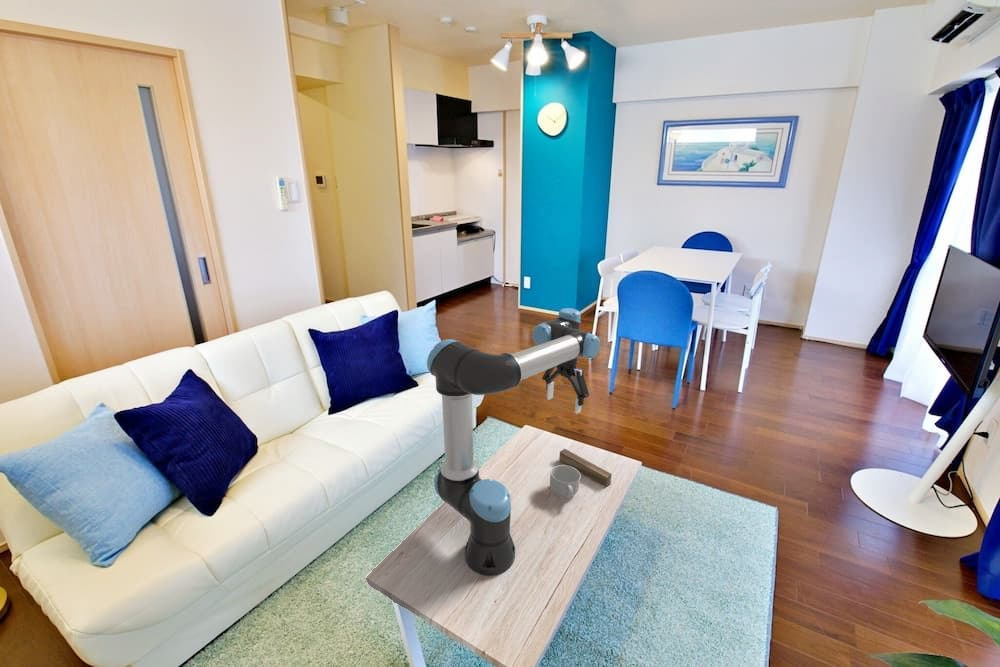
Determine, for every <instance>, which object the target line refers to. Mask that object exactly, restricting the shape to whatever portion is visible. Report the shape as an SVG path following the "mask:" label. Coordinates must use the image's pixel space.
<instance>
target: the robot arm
mask: <svg viewBox="0 0 1000 667" xmlns="http://www.w3.org/2000/svg"><path fill="white" fill-rule="evenodd" d="M580 329H581V312H580V311H579V310H578V309H577V308H576V309H575V308H570V307H569V308H568V307H567V308H562V309H560V310H559V311H558V315H557V318H555V319H552V320H548V321H545V322H542V323H539V324H538V325H535V326H534V327H533V329H532V339H533V342H534V343H535V345H534V346H531V347H529V348H528V347H527V348H526V349H523V350H520V351H518V352H514V353H511V352H503V353H500V354H492V353H488V352H485V351H482V350H479V349H477V348H475V347H472V346H470V345H467V344H465V343H463V342H462V341H459V340H456V339H451V338H450V339H448V338H446V339H444V340H441V341H439V342H438V343H436V344H435V345H434V346H433V349H431V350H430V352H429V354H428V357H427V360H426V366H427V370H428V372H429V373H430V375H432V376H433V377H435V389H436V392H437V393H438V394H439V395H441V404H442V422H443V426H442V427H443V442H444V443H443V444H444V461H443V463H442V464H441V466H440V467H439V468H438V470H437V474H435V476H434V483H433V485H434V490H435V492H436V494H437V495H438V496H439V497H440V499H441V500H443V501H444V502H445V503H446V504H448V505H449V506H451V508H452V509H454V510H455V511H456V512H458V513H459V514H460V515H462V516H463V517H464V518H465V519H466V520H467V521H468V522H469V524H470V534H469V536H468V539H467V541H466V544H465V547H464V558H465V562H466V564H467V566H468V567H469V568H470V569H471V570H472V571H473V572H476V573H477V574H481V575H483V576H495V575H499V574H502V573H504V572H506V571H507V570H509V569H510V568H511V567H512V566H513V564H514V562H515V559H516V547H515V543H514V540H513V538H512V536H511V512H512V511H511V510H512V503H511V502H512V501H511V495H510V492H509V489H508V488H507V487H506V486H505V485H504V484H503V483H502V482H500V481H498V480H495V479H492V480H491V479H482V478H480V471H479V470H480V468H479V463H478V462H477V461H476V460H475V458H474V425H473V424H474V423H473V395H474V396H475V395H476V396H478V395H479V396H487V395H494V394H499V393H501V392H505V391H509V390H510V389H513V388H516V387H517V386H519V385H520V384H521V382H522V380H525V379H528V378H530V377H532V376H535V375H537V374H540V373H542V372H544V373H543V376H542V377H541V378H542V380H543V381H545V383H546V387H545V389H546V400H547V401H549V400H552V399H553V398H554V393H555V392H554V386H555V382H554V380H556V378H557V377H559V376H561V377H564V378H565V379H568V381H569V382H570V383H571V385H572V388H573V390H574V391H575V393H576V395H577V396H576V397H575V402H574V403H575V404H574V405H575V406H574V414H575V415H578V414H580V413H581V412H582V409H583V408H582V406H583V405H584V400H585V399H586V398H588V397H589V396H590V393H589V390H588V386H587V383H586V380H585V376H584V370H583V368H582V369H578V368H577V363H578V358H579V357H582V358H584V359H591V360H592V359H594V358H595V357H596V356H597V355H598V354H599V352H600V350H601V340H600V338H599V337H598V335H595V334H593V333H591V332H587V331H585V330H580ZM555 367H556V370H555V371H554V369H555Z"/></svg>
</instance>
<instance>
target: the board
mask: <svg viewBox="0 0 1000 667" xmlns="http://www.w3.org/2000/svg"><path fill="white" fill-rule="evenodd" d="M558 459H559V460H558V462H560V463H562V465H567V466H571V467H573V468H575V469H577V470H578V471H579V472H580V474H581V475H582V476H585V477H586V478H588V479H590V480H591V481H593V482H595V483H597V484H599V485H600V486H602V487H604V488H605V489H606V488H607V487H609V486H610V485H611V484H612V483H611V482H612V473H611V472H609V471H607V470H605V469H603V468H602V467H600V466H597V465H596V464H593V463H592V462H590V461H589V460H586V459H585V458H582V457H581V456H578V455H577V454H575V453H574V452H571V451H570V450H568V449H566V448H563V449H562V450H560V451H559V458H558Z"/></svg>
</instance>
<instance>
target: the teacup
mask: <svg viewBox="0 0 1000 667" xmlns="http://www.w3.org/2000/svg"><path fill="white" fill-rule="evenodd" d="M549 473H550V476H549V486H550V489H551V491H552V492H553V493H554V494H555V495H557V496H558V497H560V498H572V497H573V496H575V495H576V494H577V493H578V491H579V489H580V485H581V484H580V483H581V478H582V474H581V473H580V472H579V471H578V470H577V469H575V468H573V467H571V466H567V465H565V464H560V465H555V466H553V467H552V468H551V469H550V472H549Z"/></svg>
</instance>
